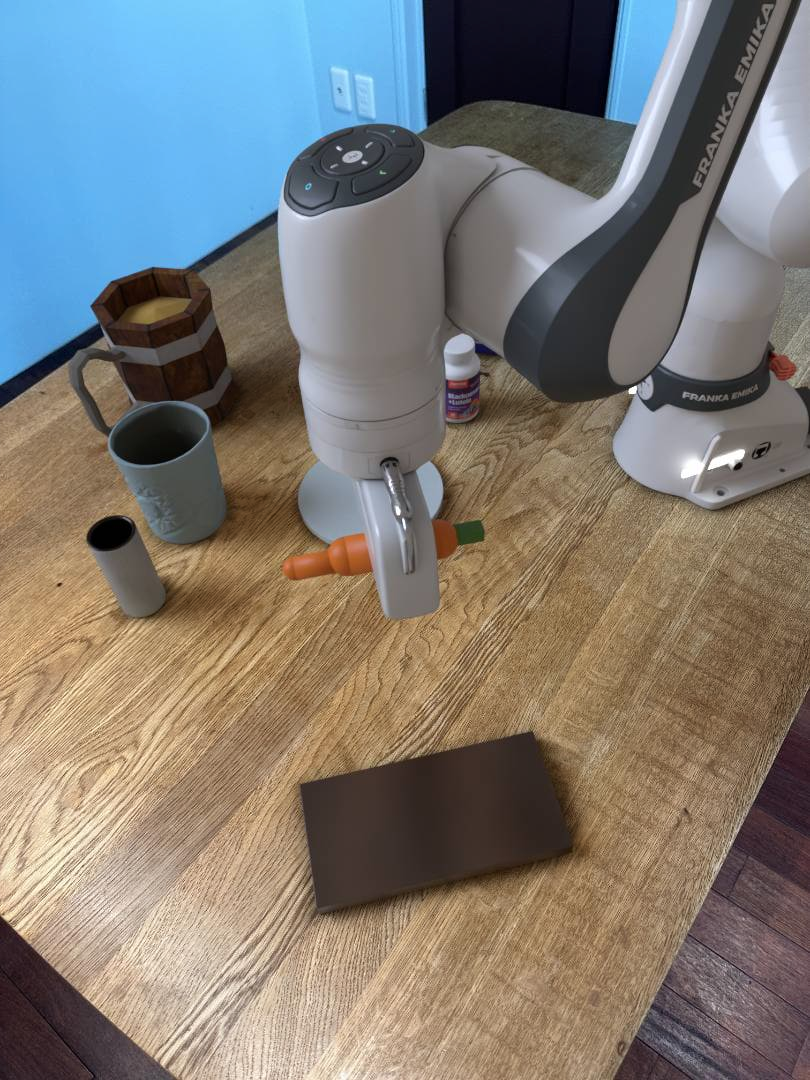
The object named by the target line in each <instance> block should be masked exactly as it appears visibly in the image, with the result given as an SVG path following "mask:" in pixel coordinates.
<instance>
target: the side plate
mask: <svg viewBox="0 0 810 1080" xmlns="http://www.w3.org/2000/svg"><path fill="white" fill-rule="evenodd" d="M416 472H417V475H418V479H419V482H420V485H421V488H422V491H423V495H424V498H425V501H426V504H427V507H428V511H429V514H430V518H431V520H437V518H438V516H439V514H440V513H441V510H442V508H443V507H442V506H443V504H444V496H445V494H444V483H443V478H442V476H441V473H440V471H439V470H438V468H437V467H436V466H435V464H434V463H433V461H431V459H430V460H429V461H428V462H427V463H425V464H424V465H422V466H421V467H419V469H417V470H416ZM297 504H298V505H297V506H298V510H299V513H300V517H301V519H302V521H303V523H304V525H305V526H306V527H307V529H308V530H309V531H310V532H311V533H312V534H313V535H314V536H315V537H317V538H318V539H320V541H323V542H324V543H326V544H328V545H331V544H332V543H333V542H334V541H335V540H336V539H338V538H340V537H344V536H349V535H354V534H360V533H364V530H363V526H362V522H361V517H360V513H359V509H358V505H357V500H356V496H355V492H354V488H353V483H352V479H349V478H348V477H346V476H344V475H343V474H341V473H339V472H336V471H334V470H332V469H331V468H329V467H327V466H326V465H325V464H323V463H322V462H321V461H320V460H319V459H318V461H317V462H315V463H314V464H313V465H312V466H311V467H310V468H309V470H308V471H307V472H306V474H305V475H304V476H303V478H302V480H301V482H300V485H299V488H298V493H297Z"/></svg>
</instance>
